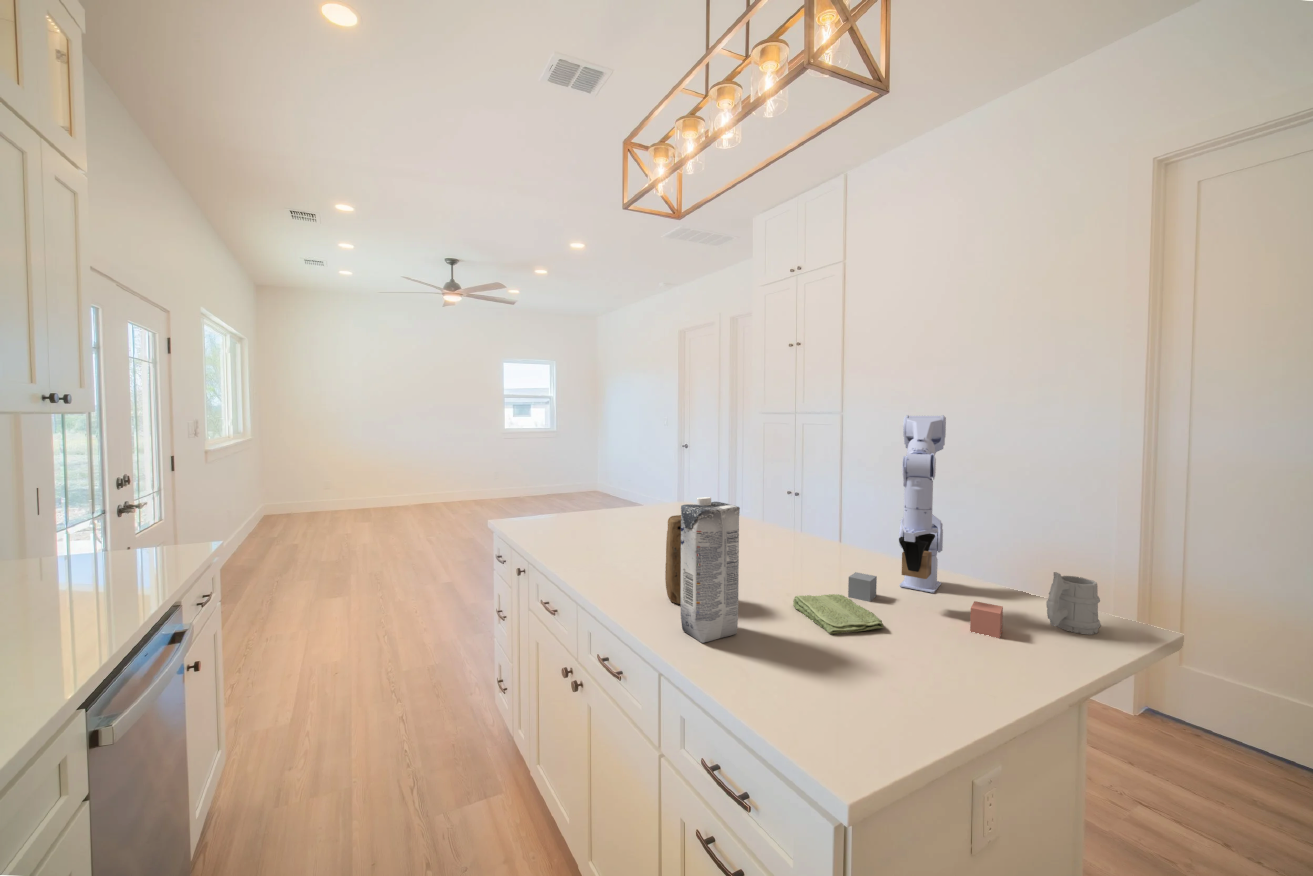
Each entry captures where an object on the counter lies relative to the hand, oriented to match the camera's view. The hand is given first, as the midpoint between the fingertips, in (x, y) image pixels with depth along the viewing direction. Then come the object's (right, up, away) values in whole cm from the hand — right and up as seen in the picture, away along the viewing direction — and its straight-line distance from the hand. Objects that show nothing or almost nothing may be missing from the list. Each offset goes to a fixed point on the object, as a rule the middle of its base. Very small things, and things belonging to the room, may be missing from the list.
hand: (916, 567), depth 118 cm
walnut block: (0, -2, 0) cm, 2 cm away
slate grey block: (-9, -9, +9) cm, 15 cm away
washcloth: (-20, -10, -4) cm, 23 cm away
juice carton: (-48, -10, -13) cm, 50 cm away
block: (-50, -9, +6) cm, 52 cm away
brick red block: (+8, -10, -11) cm, 17 cm away
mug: (+26, -10, -10) cm, 30 cm away
